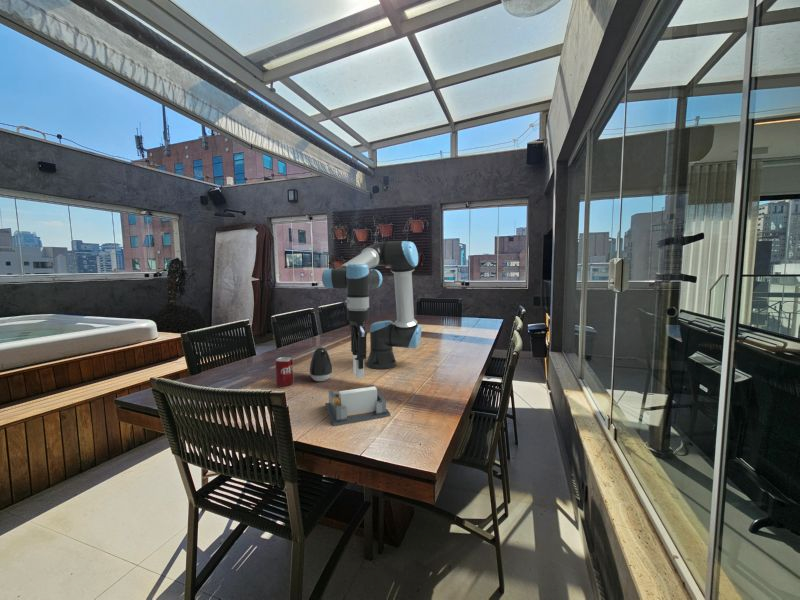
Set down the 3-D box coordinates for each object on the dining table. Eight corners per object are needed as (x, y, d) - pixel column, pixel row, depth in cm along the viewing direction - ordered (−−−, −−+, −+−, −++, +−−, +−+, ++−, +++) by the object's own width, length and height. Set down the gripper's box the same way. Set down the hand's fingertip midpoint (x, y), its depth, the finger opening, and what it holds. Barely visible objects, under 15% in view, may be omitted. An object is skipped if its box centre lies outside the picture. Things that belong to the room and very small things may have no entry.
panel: (374, 407, 123) (374, 386, 122) (377, 410, 120) (377, 389, 119) (339, 413, 118) (339, 391, 117) (341, 416, 115) (340, 394, 114)
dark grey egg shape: (316, 385, 148) (315, 351, 146) (305, 379, 156) (305, 347, 154) (336, 380, 155) (336, 347, 153) (325, 374, 162) (324, 343, 161)
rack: (375, 398, 134) (375, 381, 133) (390, 416, 118) (390, 397, 118) (325, 405, 127) (324, 387, 126) (333, 426, 111) (333, 405, 110)
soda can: (272, 386, 146) (271, 359, 145) (285, 381, 152) (284, 355, 151) (284, 389, 142) (283, 362, 141) (297, 384, 149) (296, 358, 148)
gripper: (342, 306, 121) (343, 369, 124) (353, 313, 106) (354, 384, 109) (362, 305, 124) (362, 367, 127) (375, 311, 109) (376, 381, 111)
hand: (358, 375), depth 118 cm, fingers open, 4 cm apart
